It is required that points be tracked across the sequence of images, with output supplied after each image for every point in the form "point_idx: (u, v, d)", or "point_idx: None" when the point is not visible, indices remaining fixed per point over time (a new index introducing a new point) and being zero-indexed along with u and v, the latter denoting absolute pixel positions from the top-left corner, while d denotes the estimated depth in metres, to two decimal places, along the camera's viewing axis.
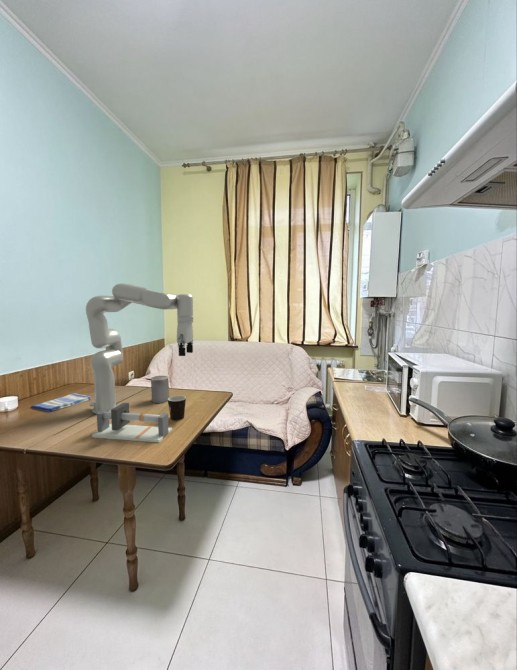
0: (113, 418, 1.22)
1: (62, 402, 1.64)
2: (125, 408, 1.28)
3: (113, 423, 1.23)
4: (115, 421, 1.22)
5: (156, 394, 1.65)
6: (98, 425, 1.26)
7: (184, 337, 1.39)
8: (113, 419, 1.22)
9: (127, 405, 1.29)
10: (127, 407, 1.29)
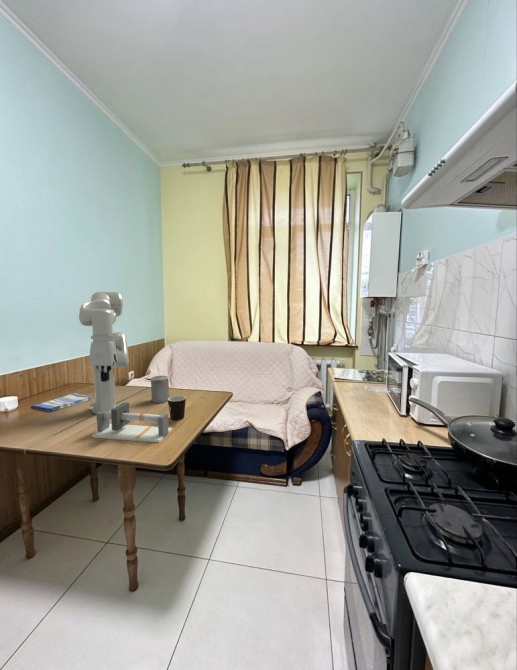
0: (113, 418, 1.22)
1: (62, 402, 1.64)
2: (125, 408, 1.28)
3: (113, 423, 1.23)
4: (115, 421, 1.22)
5: (156, 394, 1.65)
6: (98, 425, 1.26)
7: (116, 357, 1.26)
8: (113, 419, 1.22)
9: (127, 405, 1.29)
10: (127, 407, 1.29)
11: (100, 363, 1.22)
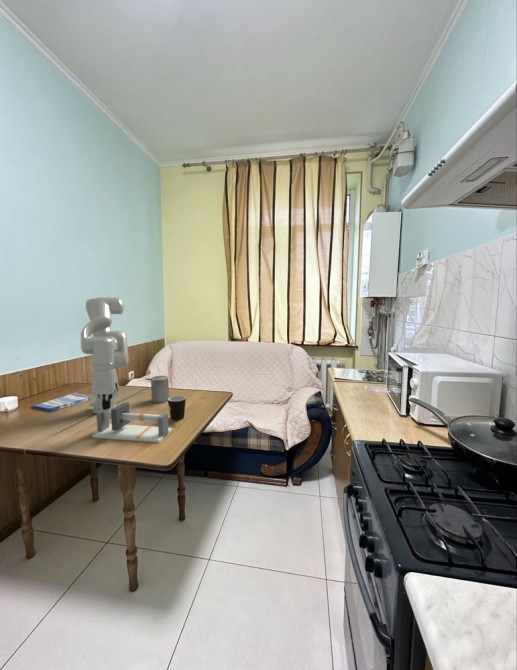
0: (113, 418, 1.22)
1: (62, 402, 1.64)
2: (125, 408, 1.28)
3: (113, 423, 1.23)
4: (115, 421, 1.22)
5: (156, 394, 1.65)
6: (98, 425, 1.26)
7: None
8: (113, 419, 1.22)
9: (127, 405, 1.29)
10: (127, 407, 1.29)
11: (102, 392, 1.24)
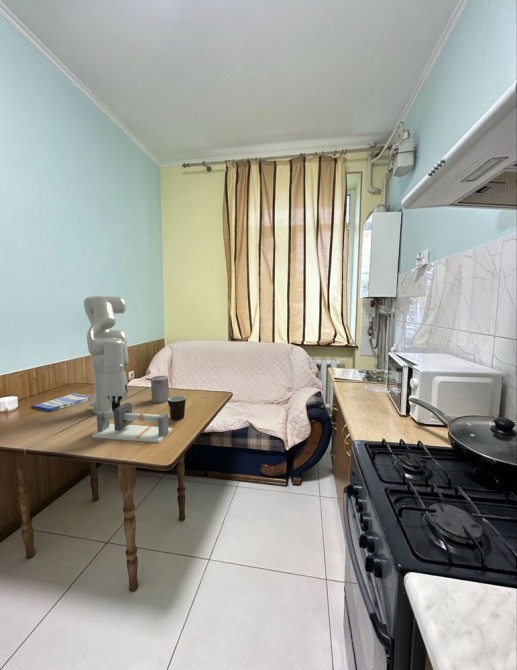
0: (116, 418, 1.22)
1: (62, 402, 1.64)
2: (128, 408, 1.28)
3: (116, 423, 1.22)
4: (118, 421, 1.22)
5: (156, 394, 1.65)
6: (98, 425, 1.26)
7: (127, 387, 1.26)
8: (116, 419, 1.22)
9: (130, 405, 1.29)
10: (130, 407, 1.29)
11: (111, 393, 1.23)
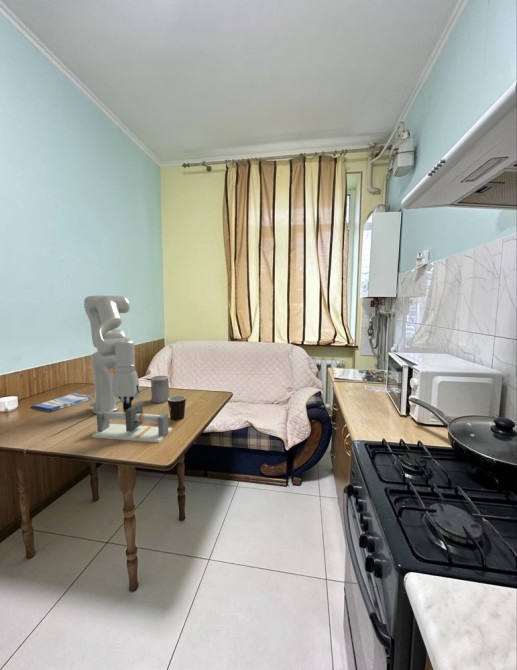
0: (128, 419, 1.21)
1: (62, 402, 1.64)
2: (139, 409, 1.27)
3: (127, 424, 1.22)
4: (129, 422, 1.21)
5: (156, 394, 1.65)
6: (98, 425, 1.26)
7: None
8: (127, 420, 1.21)
9: (141, 406, 1.29)
10: (141, 408, 1.29)
11: (123, 394, 1.22)
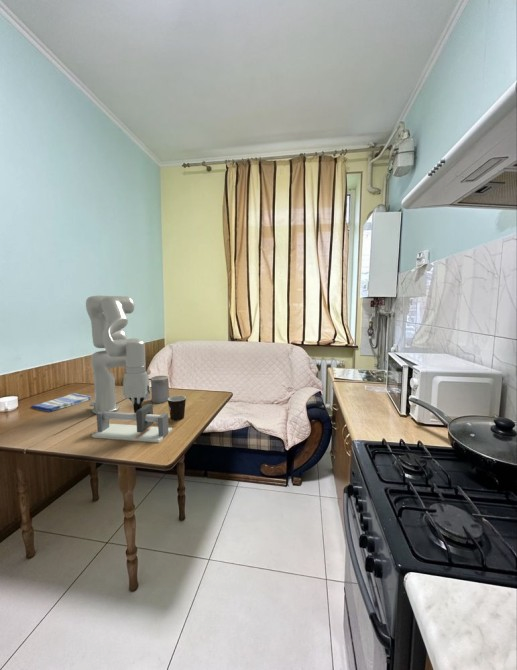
0: (138, 420, 1.21)
1: (62, 402, 1.64)
2: (149, 409, 1.26)
3: (138, 425, 1.21)
4: (140, 423, 1.21)
5: (156, 394, 1.65)
6: (98, 425, 1.26)
7: (149, 388, 1.25)
8: (138, 421, 1.21)
9: (151, 406, 1.28)
10: (151, 408, 1.28)
11: (134, 395, 1.22)
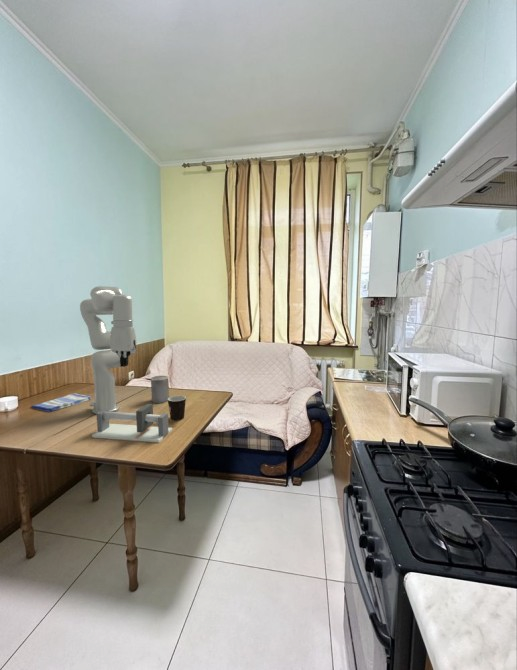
0: (138, 420, 1.21)
1: (62, 402, 1.64)
2: (149, 409, 1.26)
3: (138, 425, 1.21)
4: (140, 423, 1.21)
5: (156, 394, 1.65)
6: (98, 425, 1.26)
7: None
8: (138, 421, 1.21)
9: (151, 406, 1.28)
10: (151, 408, 1.28)
11: (120, 348, 1.24)
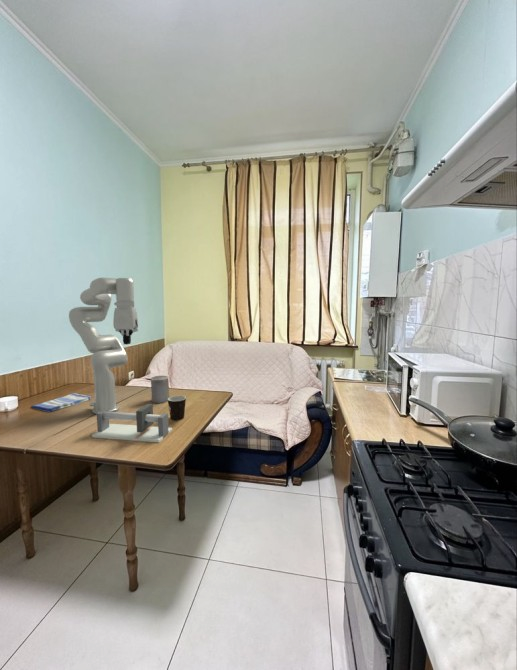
0: (138, 420, 1.21)
1: (62, 402, 1.64)
2: (149, 409, 1.26)
3: (138, 425, 1.21)
4: (140, 423, 1.21)
5: (156, 394, 1.65)
6: (98, 425, 1.26)
7: (137, 322, 1.38)
8: (138, 421, 1.21)
9: (151, 406, 1.28)
10: (151, 408, 1.28)
11: (123, 327, 1.34)
